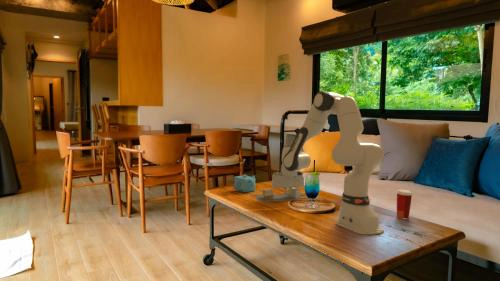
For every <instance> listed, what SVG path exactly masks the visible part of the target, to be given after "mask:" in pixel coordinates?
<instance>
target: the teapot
mask: <svg viewBox="0 0 500 281" xmlns="http://www.w3.org/2000/svg"><path fill="white" fill-rule="evenodd" d="M233 190H235V191H236V192H242V193H248V192H249V193H250V192H253V191H254V192H255V191H256V175H253V176H249V175H247V174H243V175H238V176H234V177H233Z"/></svg>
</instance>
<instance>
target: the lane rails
mask: <svg viewBox="0 0 500 281" xmlns="http://www.w3.org/2000/svg"><path fill="white" fill-rule="evenodd" d="M305 193H306V192H303V193H301V192H300V196H306V195H305ZM274 195H285V193H274ZM274 195H273V196H274ZM249 196H250V197H254V196H263V194H250V195H249ZM309 199H310V198H300V199H292V200H269V201H259V200H257V201H256V202H257V203H263V202H264V203H265V202H267V203H268V202H283V201H285V202H287V201H290V202H291V201H305V202H310V201H309ZM319 200H320V201H321V198H319V197H318V198H316V199H315V201H316V202H317V201H319ZM315 201H314V202H315Z"/></svg>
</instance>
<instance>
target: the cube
mask: <svg viewBox="0 0 500 281" xmlns="http://www.w3.org/2000/svg"><path fill="white" fill-rule="evenodd" d="M274 192H275V190H273V189H272V188H263V189H262V195H263V198H264V199H273V196H274V194H275V193H274Z"/></svg>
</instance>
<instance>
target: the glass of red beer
mask: <svg viewBox="0 0 500 281" xmlns="http://www.w3.org/2000/svg"><path fill="white" fill-rule="evenodd" d="M395 194H396V218H397V217H399V218H398V219H400V218H408V219H409V218H410V211H411V204H412V199H413V198H412V197H413V192H412V191H410V190H408V189H397V190H396V192H395Z"/></svg>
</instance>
